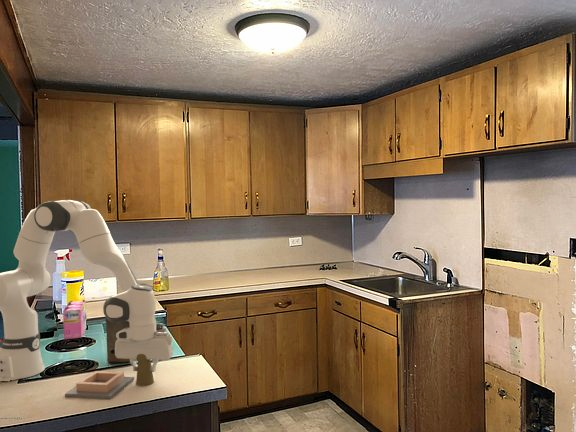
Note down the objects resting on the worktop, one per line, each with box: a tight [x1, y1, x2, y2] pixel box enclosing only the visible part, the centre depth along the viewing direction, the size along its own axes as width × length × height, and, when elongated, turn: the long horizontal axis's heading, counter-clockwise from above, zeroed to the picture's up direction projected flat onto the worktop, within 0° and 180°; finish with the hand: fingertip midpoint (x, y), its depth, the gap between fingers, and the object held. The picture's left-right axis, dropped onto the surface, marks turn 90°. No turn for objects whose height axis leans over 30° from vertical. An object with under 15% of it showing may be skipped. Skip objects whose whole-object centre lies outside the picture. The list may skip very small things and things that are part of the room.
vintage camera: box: [105, 317, 130, 364], centre depth 190 cm, size 10×15×20 cm, turn 2°
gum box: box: [62, 299, 88, 340], centre depth 230 cm, size 24×8×14 cm, turn 17°
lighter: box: [156, 322, 167, 333], centre depth 203 cm, size 8×3×10 cm, turn 130°
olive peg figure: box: [135, 354, 155, 387], centre depth 163 cm, size 6×6×11 cm
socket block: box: [64, 370, 136, 400], centre depth 159 cm, size 16×16×4 cm
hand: (144, 371), depth 163 cm, fingers closed on olive peg figure, 5 cm apart
